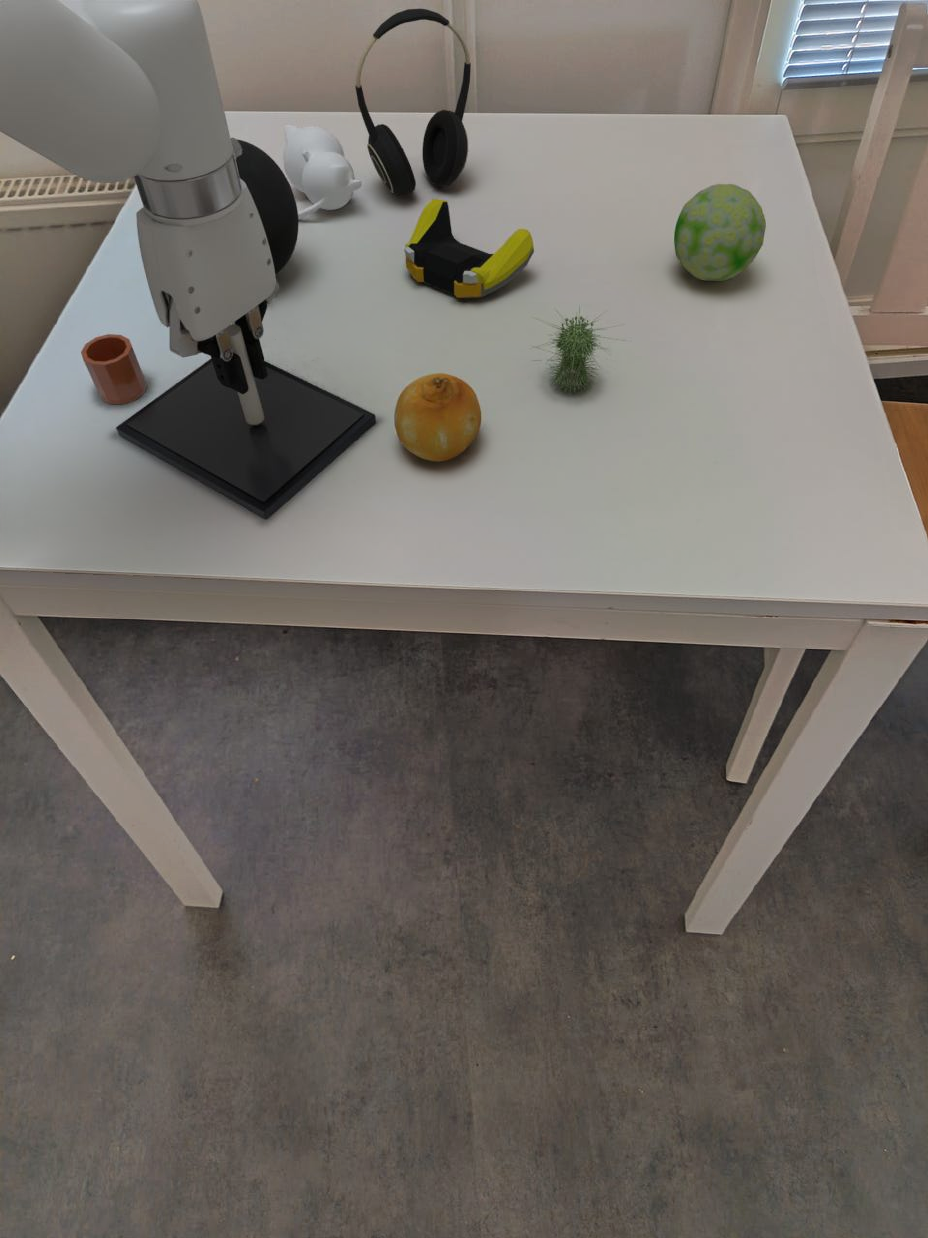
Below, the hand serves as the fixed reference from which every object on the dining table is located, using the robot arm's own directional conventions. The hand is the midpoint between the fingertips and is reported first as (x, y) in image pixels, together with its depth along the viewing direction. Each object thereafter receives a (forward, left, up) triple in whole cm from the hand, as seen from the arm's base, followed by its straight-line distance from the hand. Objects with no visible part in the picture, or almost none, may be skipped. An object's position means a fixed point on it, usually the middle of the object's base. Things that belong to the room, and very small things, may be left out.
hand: (244, 379), depth 78 cm
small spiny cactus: (+24, -22, -7) cm, 33 cm away
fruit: (+9, -16, -7) cm, 19 cm away
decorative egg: (+20, +19, -7) cm, 29 cm away
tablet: (0, +1, -7) cm, 7 cm away
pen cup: (-3, +16, -7) cm, 18 cm away
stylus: (0, 0, -5) cm, 5 cm away
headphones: (+47, +15, -7) cm, 50 cm away
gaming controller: (+34, -1, -7) cm, 35 cm away
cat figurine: (+37, +24, -7) cm, 45 cm away
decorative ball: (+50, -25, -7) cm, 56 cm away
